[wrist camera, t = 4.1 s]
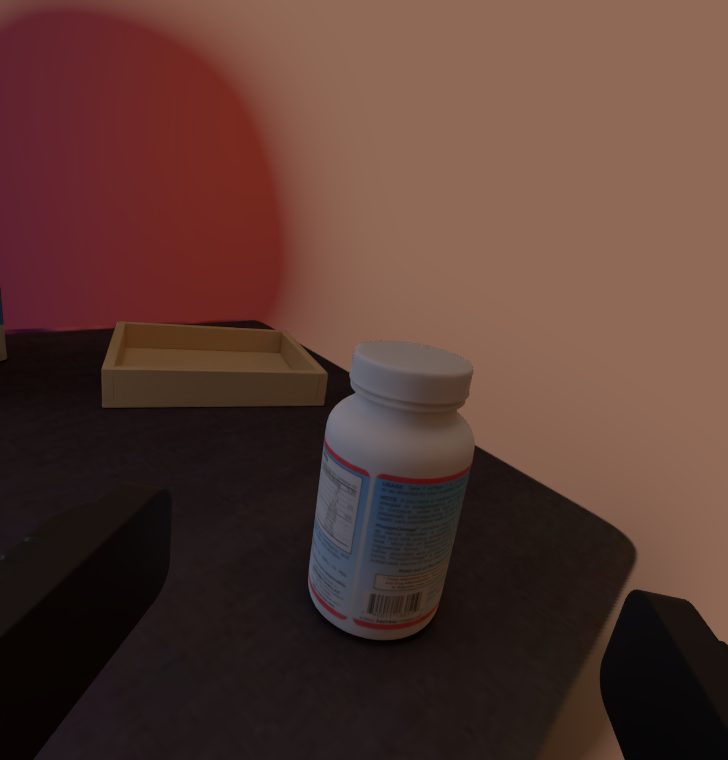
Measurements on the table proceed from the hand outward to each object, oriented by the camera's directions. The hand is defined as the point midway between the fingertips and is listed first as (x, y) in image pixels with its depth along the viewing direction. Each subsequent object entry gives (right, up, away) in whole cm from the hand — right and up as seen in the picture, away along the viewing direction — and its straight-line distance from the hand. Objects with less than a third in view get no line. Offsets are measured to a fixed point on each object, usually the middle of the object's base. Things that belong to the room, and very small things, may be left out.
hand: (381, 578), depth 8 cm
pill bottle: (0, -6, +13) cm, 15 cm away
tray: (-15, +4, +38) cm, 41 cm away
